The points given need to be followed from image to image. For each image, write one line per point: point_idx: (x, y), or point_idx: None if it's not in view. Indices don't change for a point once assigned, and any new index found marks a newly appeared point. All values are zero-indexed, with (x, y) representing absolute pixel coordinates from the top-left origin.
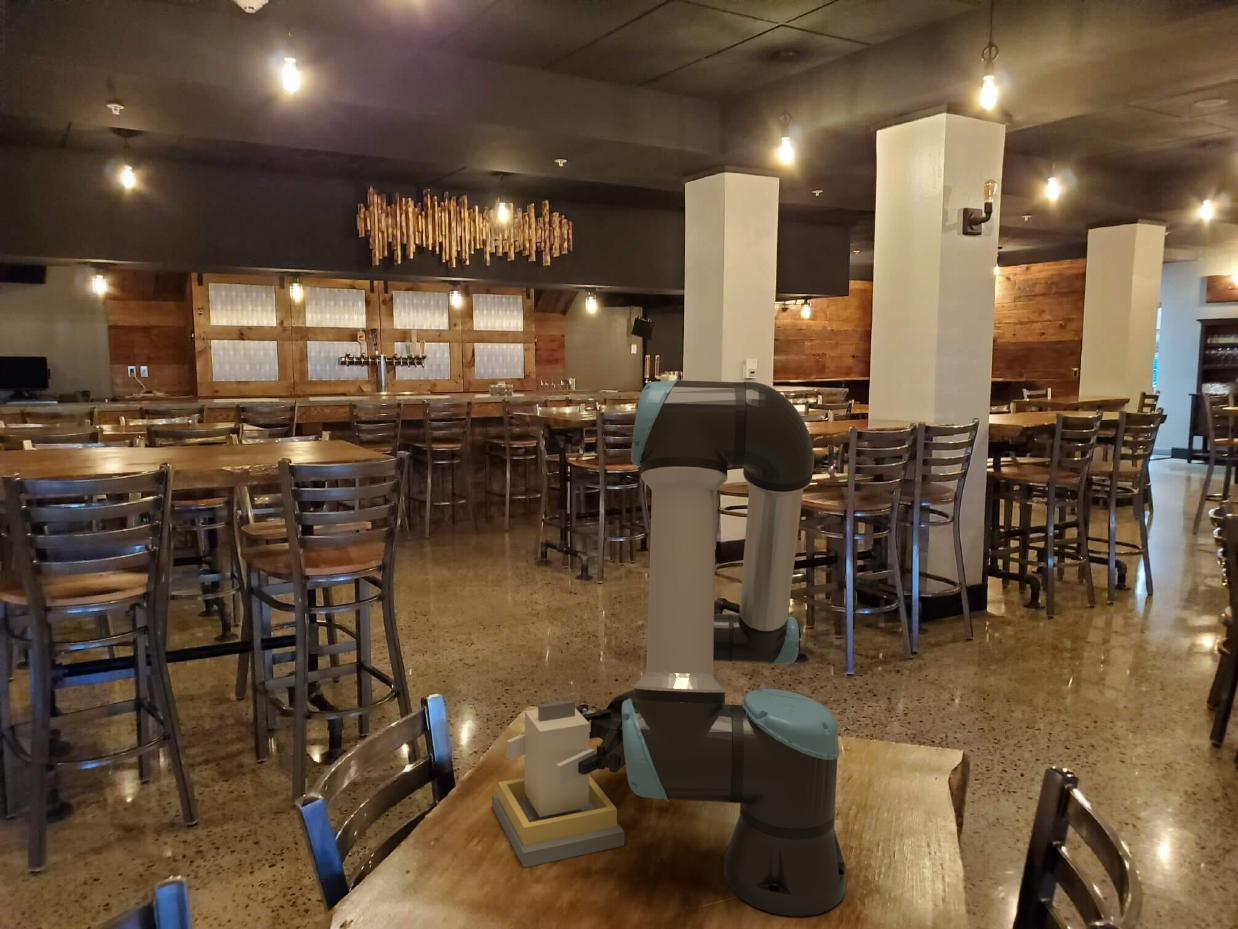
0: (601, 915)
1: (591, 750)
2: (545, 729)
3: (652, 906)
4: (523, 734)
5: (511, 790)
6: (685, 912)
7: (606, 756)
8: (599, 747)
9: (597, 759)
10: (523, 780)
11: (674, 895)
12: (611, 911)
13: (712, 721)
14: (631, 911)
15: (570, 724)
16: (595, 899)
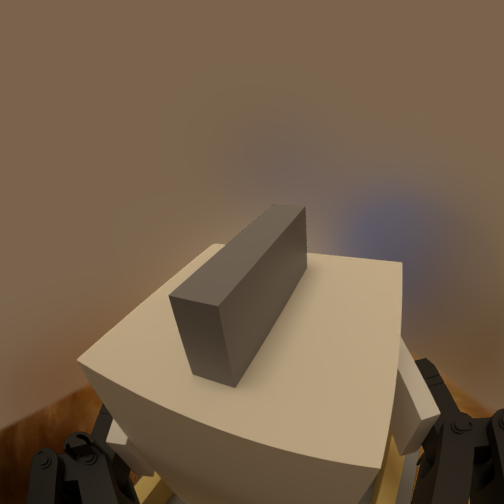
0: (82, 391)
1: (113, 432)
2: (209, 253)
3: (38, 428)
4: (400, 346)
5: (389, 433)
6: (8, 434)
7: (73, 460)
8: (78, 432)
9: (92, 433)
10: (392, 451)
11: (21, 455)
12: (75, 401)
13: None
14: (56, 411)
15: (152, 311)
16: (99, 407)
